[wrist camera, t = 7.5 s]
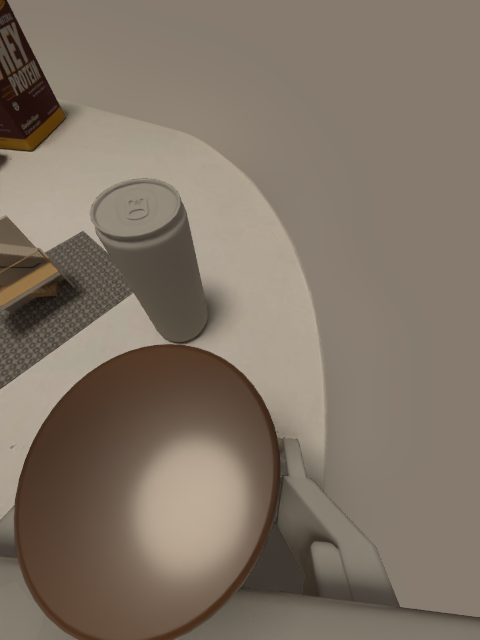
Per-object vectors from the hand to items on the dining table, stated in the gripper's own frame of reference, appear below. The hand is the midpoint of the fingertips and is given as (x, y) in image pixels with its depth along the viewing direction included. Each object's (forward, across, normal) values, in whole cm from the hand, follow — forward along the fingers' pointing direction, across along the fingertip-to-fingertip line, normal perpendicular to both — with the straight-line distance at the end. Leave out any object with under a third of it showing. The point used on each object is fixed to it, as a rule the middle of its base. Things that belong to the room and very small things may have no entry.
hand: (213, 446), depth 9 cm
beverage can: (+15, +5, 0) cm, 16 cm away
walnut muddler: (+6, 0, +7) cm, 9 cm away
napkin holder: (+16, +19, -1) cm, 25 cm away
